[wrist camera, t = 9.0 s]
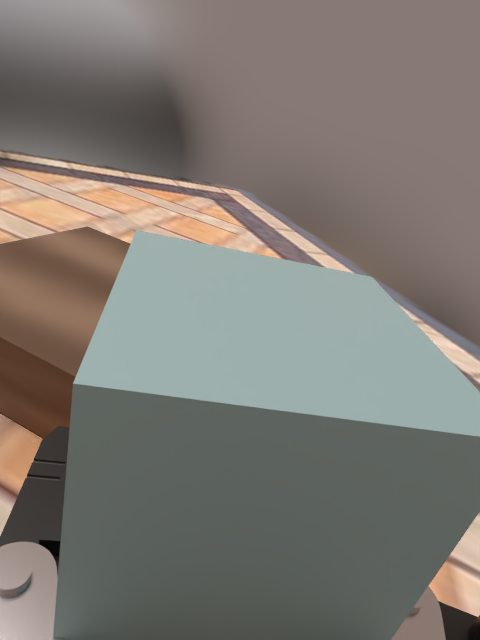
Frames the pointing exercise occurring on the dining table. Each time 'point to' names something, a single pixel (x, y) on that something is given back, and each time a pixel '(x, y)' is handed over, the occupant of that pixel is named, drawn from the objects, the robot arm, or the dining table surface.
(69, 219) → the dining table surface
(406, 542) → the block
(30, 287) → the plinth
